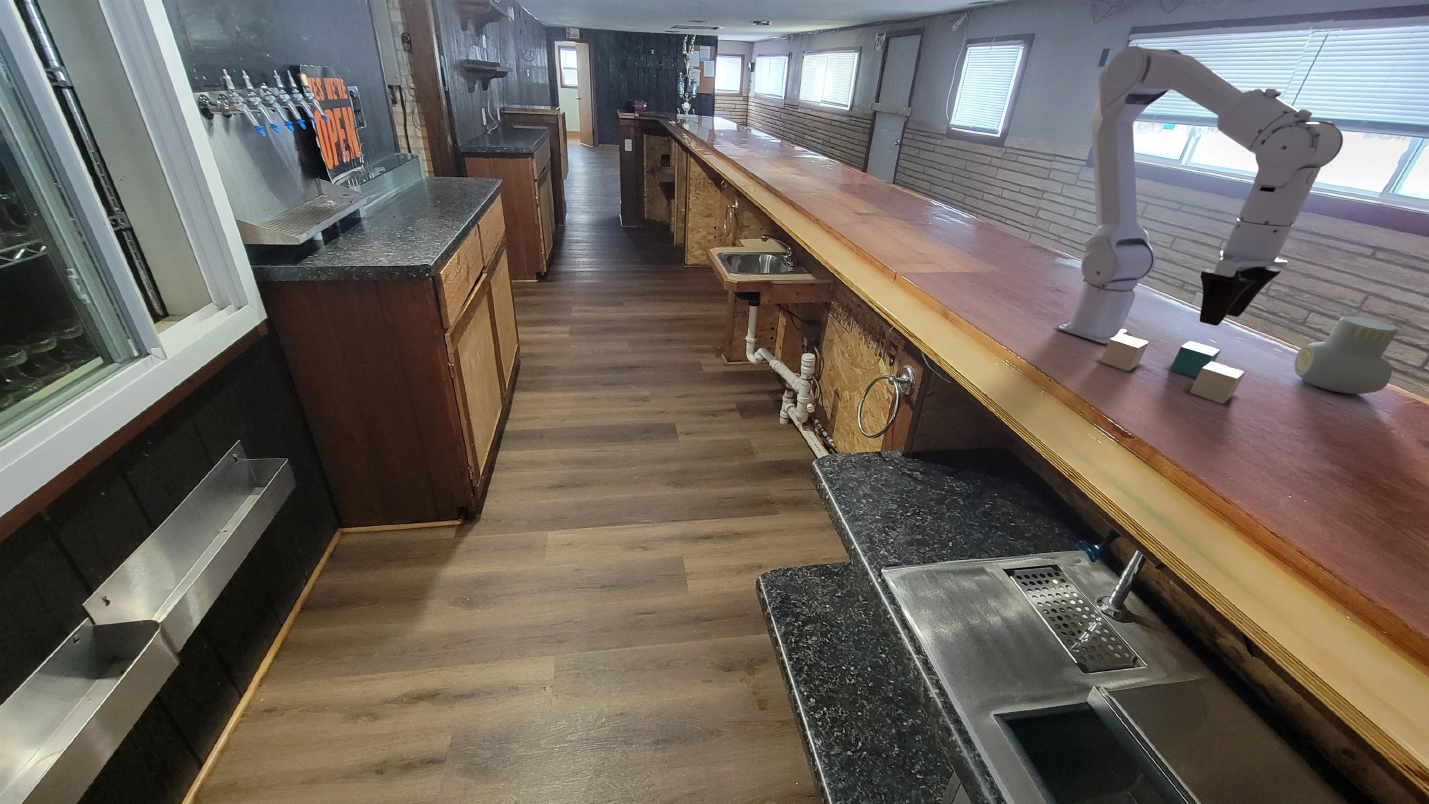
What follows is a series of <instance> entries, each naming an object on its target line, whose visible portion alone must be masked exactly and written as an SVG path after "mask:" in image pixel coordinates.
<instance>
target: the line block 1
mask: <svg viewBox="0 0 1429 804" xmlns="http://www.w3.org/2000/svg"><path fill="white" fill-rule="evenodd" d="M1148 344H1149V341H1147V340H1143V339H1140V338H1136V337H1133V336H1129V335H1127V334H1119V335H1117V336H1115V337H1113V338H1111V339H1110V340H1109V342H1108V343H1107V345H1106V347H1105V349H1104V352H1103V354H1102V357H1101V359H1100V363H1102V364H1105V365H1108V366H1110V367H1114V368H1117V369H1120V370H1122V371H1126V372H1129V371H1131V370H1132V369H1134V368H1136V367H1137V366H1139V364H1140V362H1141V360H1142V358H1143V355H1144V353H1145V351H1146V349H1147V347H1148Z"/></svg>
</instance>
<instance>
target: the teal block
mask: <svg viewBox="0 0 1429 804" xmlns="http://www.w3.org/2000/svg"><path fill="white" fill-rule="evenodd" d="M1220 353H1221V349H1219V348H1216V347H1213V346H1209V345H1206V344H1202V343H1199V342H1195V341H1192V340H1189V341H1188V342H1186V343H1184V344H1183V345H1181V346H1180V348H1179V350H1178V351H1177V354H1176V355H1175V358H1174V360H1173V362H1172V364H1171V365H1170V368H1169V371H1172V372H1174V373H1178V374H1181V375H1184V376H1187V377H1190V378H1193V379H1195V380H1196V379H1197V377H1198V375H1199V373H1200V371H1201V369H1202V368H1203V367H1204V366H1206V365H1207V364H1208V363H1210V362H1211V361H1212V362H1215V363H1216V360H1217V359H1218V356H1220Z"/></svg>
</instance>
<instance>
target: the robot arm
mask: <svg viewBox="0 0 1429 804" xmlns="http://www.w3.org/2000/svg"><path fill="white" fill-rule="evenodd" d="M1169 92H1176V93H1177V94H1180V95H1181V96H1183V97H1184V98H1187V99H1188V100H1190V101H1192V102H1194V103H1195V104H1197V105H1199V106H1200V107H1203V108H1204V109H1206V110H1208V111H1209V112H1211V113H1213V114H1215V115H1217V120H1216V121H1217V122H1216V128H1217V130H1218V132H1221V133H1222V134H1223V135H1225V136H1226V137H1227V138H1228V139H1231V140H1232V141H1234V142H1235V143H1237V144H1238V145H1240V146H1241V147H1243V148H1244V149H1246V150H1247V151H1248V152H1250V153H1252V154H1254V156H1255V162H1256V165H1257V167H1258V169H1257V173H1256V175H1255V177H1254V181H1253V183H1252V185H1251V187H1250V190H1249V192H1248V194H1247V197H1246V199H1245V200H1244V203H1243V206H1242V208H1241V210H1240V212H1239V215H1238V216H1237V219H1236V221H1235V223H1234V226H1233V228H1232V231H1231V232H1230V234H1229V237H1228V239H1227V241H1226V243H1225V246H1224V248H1223V250H1221V251H1220V253H1219V255H1218V259H1219V260H1218V262H1217V264H1216V267H1215V269H1210V268H1206V269H1203V270H1202V271H1201V274H1200V280H1201V285H1202V301H1201V307H1200V314H1199V322H1200V323H1203V324H1207V325H1211V326H1220V324H1221V323H1222V322H1223V321H1224V319H1225V318H1226V316H1230V317H1235V318H1239V317H1240V316H1241V315H1242V314H1243V313H1244V312H1245V311H1246V309H1248V306H1249V305H1251V303H1252V302H1253V300H1254V299H1255V298H1256V297H1257V295H1258V294H1259V293H1260V291H1261V290H1263V289H1264V287H1266V286H1267V285H1268V284H1269V283H1270V282H1271V281H1272V280H1273V279H1275V278H1276V277H1278V275H1280V274H1281V272H1282V270H1281V269H1279V268H1284V267H1286V266H1287V264H1288V262H1289V261H1288V260H1285V259H1281V258H1278V257H1279V255H1280V253H1281V252H1282V249H1283V247H1284V245H1285V243H1286V241H1287V238H1288V237H1289V235H1290V233H1291V231H1292V228H1293V227H1294V225H1295V223H1296V220H1297V219H1298V216H1299V214H1300V213H1301V210H1302V208H1303V206H1304V205H1305V203H1306V200H1307V198H1308V196H1309V195H1310V192H1311V190H1312V187H1313V185H1314V184H1315V181H1316V179H1317V177H1318V175H1319V174H1320V171H1321V168H1323V167H1325V166H1327V165H1328V164H1329V163H1331V162H1332V161H1333V160H1334V159H1335V158H1336V157H1337V156H1338V155H1339V153H1340V151H1341V150H1342V147H1343V145H1344V136H1343V133H1342V131H1341V130H1340V129H1339V128H1338V127H1337V126H1336V125H1335V123H1334V122H1332V121H1326V120H1325V121H1323V120H1320V121H1319V120H1318V121H1313V122H1311V118H1310V117H1312V115H1313V112H1311V111H1310V110H1308V109H1300V110H1298V109H1296V108H1294V107H1293V106H1291V105H1289V104H1288V103H1286V102H1284V101H1283V100H1281V99H1279V97H1280V96H1281V95H1282V92H1280V91H1279V90H1278V89H1275V88H1265V89H1262V88H1254V89H1250V90H1247V91H1244V92H1243V91H1241V90H1240V89H1239V88H1237V87H1236V86H1234V85H1233V84H1231V83H1230V82H1228V81H1227V80H1226V79H1224V78H1223V77H1221V75H1219V74H1217V72H1215V71H1213V70H1211V69H1210V68H1208V66H1206V65H1205V64H1204V63H1201V62H1200V61H1199V60H1197V59H1196V58H1194V56H1191V55H1188V54H1183V53H1182V52H1181V51H1179V50H1178V49H1175V48H1174V49H1172V48H1171V49H1169V48H1168V49H1161V48H1160V49H1159V48H1148V47H1141V46H1138V45H1129V46H1126V47H1124V48H1122V49H1120V50H1119V51H1117V52H1116V53H1115V54H1114V55H1113V56H1112V58H1110V60H1109V61H1108V63H1107V64H1106V65H1105V67H1104V68H1103V69H1102V70H1101V72H1100V73H1099V75H1098V97H1097V100H1096V104H1095V107H1094V111H1093V113H1092V118H1091V123H1090V125H1091V126H1090V127H1091V142H1092V143H1091V144H1092V145H1091V146H1092V161H1093V163H1092V164H1093V180H1094V198H1095V199H1094V200H1095V201H1094V202H1095V218H1096V230H1095V231H1094V232H1093V233H1092V234H1091V235H1090V236H1089V237H1088V238H1087V239H1086V240H1085V243H1084V246H1085V252H1084V255H1083V257H1082V260H1081V264H1080V270H1081V273H1082V276H1083V280H1082V282H1083V285H1082V288H1081V290H1080V293H1079V295H1078V298H1077V301H1076V303H1075V307H1074V309H1073V311H1072V315H1071V317H1070V319H1069V322H1065V323H1063V324H1061V325H1059V326H1058V327H1057V329H1058V330H1059V331H1063V332H1065V333H1069V334H1071V335H1074V336H1077V337H1081V338H1084V339H1087V340H1090V341H1094V342H1097V343H1100V344H1102V345H1106V344H1108V342H1109V340H1110V339H1111V338H1113V337H1115V336H1117V335H1119V334H1124V335H1127V333H1128V330H1126V329H1124V328H1123V327H1124V324H1125V322H1126V321H1127V320H1126V319H1127V318H1128V315H1129V314H1130V310H1131V308H1132V306H1133V303H1134V301H1135V299H1136V293H1135V288H1136V287H1138V283H1139V281H1140V280H1143V279H1144V278H1145V277H1147V276H1149V275H1150V274H1151V272H1152V271H1153V270H1154V267H1155V264H1156V253H1155V251H1154V249H1153V247H1152V245H1151V244H1150V242H1149V234H1148V232H1147V230H1145V228H1143V227H1142V225H1140V223H1139V221H1138V204H1137V183H1136V161H1135V160H1136V159H1135V140H1134V137H1135V136H1134V124H1135V122H1136V120H1137V119H1139V117H1140V116H1141V115H1142V114H1143V113H1144V112H1146V110H1148V109H1149V108H1151V107H1152V106H1153V105H1154V104H1155V103H1157V102H1158V101H1159V100H1160V99H1162V98H1163V97H1164V96H1166V95H1167V94H1168V93H1169ZM1275 267H1277V268H1275Z"/></svg>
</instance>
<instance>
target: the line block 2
mask: <svg viewBox="0 0 1429 804" xmlns="http://www.w3.org/2000/svg"><path fill="white" fill-rule="evenodd" d="M1245 374H1246V371H1245V370H1241V369H1238V368H1234V367H1231V366H1229V365H1225V364H1223V363H1219V362H1216V361H1215V362H1212V361H1211V362H1210V363H1208V364H1207V365H1206V366H1204V367H1203V368H1202V369H1201V371H1200V373H1199V375H1198V377H1197V379H1196V378H1195V381H1194V383H1193V385H1192V386H1191V389H1190V391H1189V393H1190V394H1192V395H1195V396H1198V397H1201V398H1205V399H1207V400H1209V401H1211V402H1212V401H1213V402H1216V403H1219V404H1221V405H1224V404H1225V403H1226V402H1227V401H1229V400H1230V399H1231V398H1232V397H1233V395H1234V393H1235V391H1236V390H1237V388H1238V386H1239V384H1240V383H1241V381H1242V380H1243V378H1244V376H1245Z"/></svg>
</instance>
